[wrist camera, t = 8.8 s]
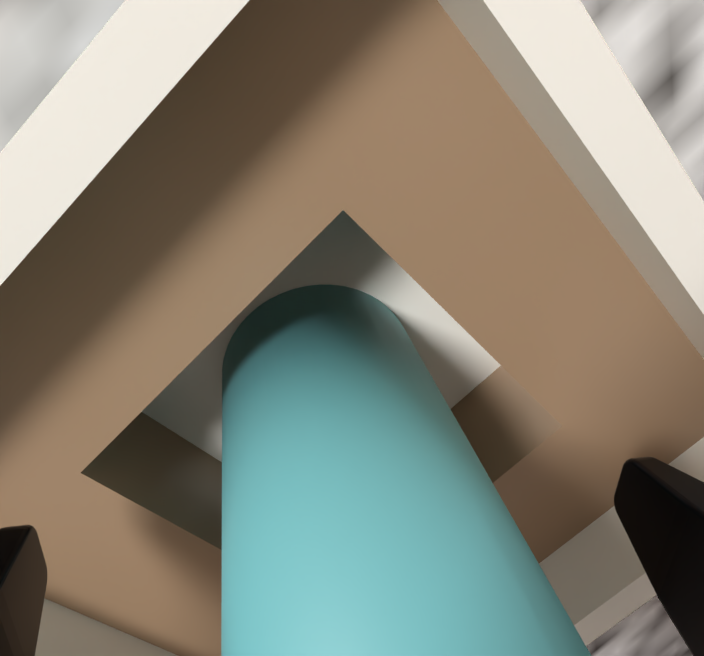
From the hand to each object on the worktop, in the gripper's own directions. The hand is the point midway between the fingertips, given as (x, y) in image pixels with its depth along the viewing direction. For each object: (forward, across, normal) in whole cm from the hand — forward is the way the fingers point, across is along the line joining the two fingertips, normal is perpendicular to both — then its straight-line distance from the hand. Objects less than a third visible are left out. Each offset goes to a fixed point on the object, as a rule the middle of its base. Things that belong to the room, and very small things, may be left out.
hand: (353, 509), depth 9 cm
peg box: (+5, 0, 0) cm, 5 cm away
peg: (+4, 0, 0) cm, 4 cm away
